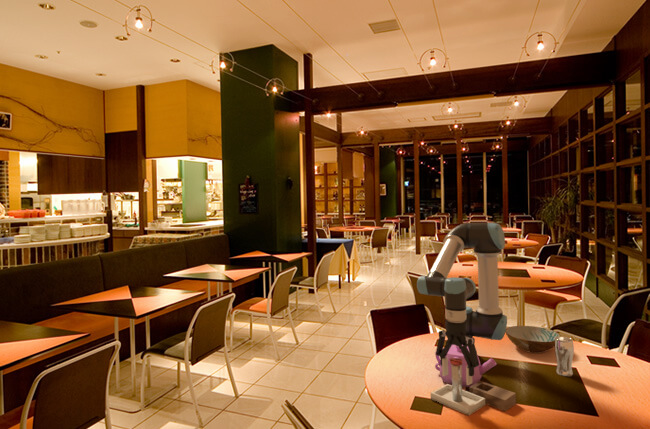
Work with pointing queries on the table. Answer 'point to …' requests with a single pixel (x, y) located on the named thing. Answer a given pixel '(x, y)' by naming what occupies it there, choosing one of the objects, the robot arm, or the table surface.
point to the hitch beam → (494, 395)
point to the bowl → (532, 338)
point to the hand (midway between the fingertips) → (457, 379)
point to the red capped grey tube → (456, 379)
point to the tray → (466, 406)
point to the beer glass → (564, 355)
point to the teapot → (463, 366)
